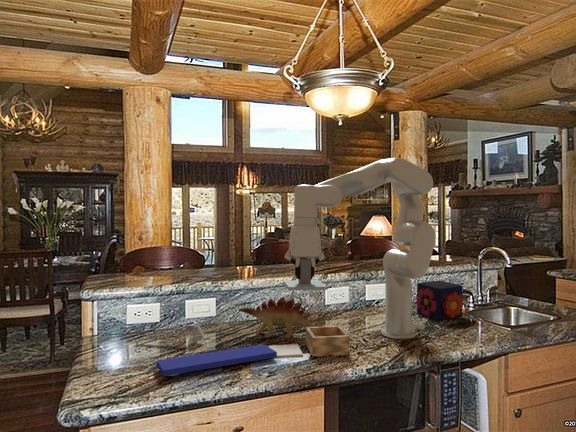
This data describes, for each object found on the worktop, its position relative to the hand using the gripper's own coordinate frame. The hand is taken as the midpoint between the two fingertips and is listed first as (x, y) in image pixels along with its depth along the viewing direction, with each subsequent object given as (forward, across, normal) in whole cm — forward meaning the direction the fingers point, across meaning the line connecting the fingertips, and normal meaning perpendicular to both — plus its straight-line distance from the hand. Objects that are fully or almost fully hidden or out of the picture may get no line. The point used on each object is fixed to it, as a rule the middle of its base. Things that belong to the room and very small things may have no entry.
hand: (304, 278), depth 144 cm
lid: (+3, 0, 0) cm, 3 cm away
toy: (+24, +4, -18) cm, 31 cm away
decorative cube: (+23, -66, -34) cm, 78 cm away
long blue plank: (+25, +28, +8) cm, 38 cm away
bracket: (+25, +44, -15) cm, 53 cm away
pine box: (+24, -8, 0) cm, 25 cm away
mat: (+24, +6, 0) cm, 25 cm away
